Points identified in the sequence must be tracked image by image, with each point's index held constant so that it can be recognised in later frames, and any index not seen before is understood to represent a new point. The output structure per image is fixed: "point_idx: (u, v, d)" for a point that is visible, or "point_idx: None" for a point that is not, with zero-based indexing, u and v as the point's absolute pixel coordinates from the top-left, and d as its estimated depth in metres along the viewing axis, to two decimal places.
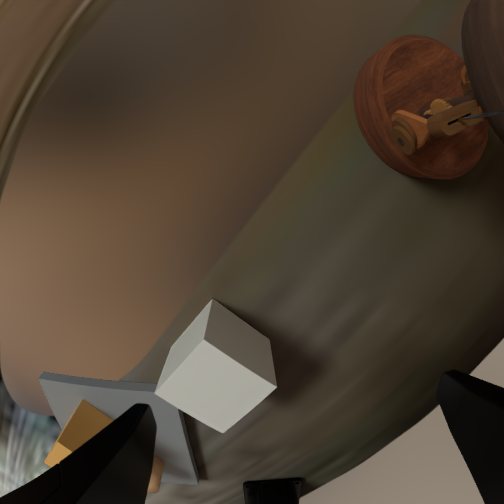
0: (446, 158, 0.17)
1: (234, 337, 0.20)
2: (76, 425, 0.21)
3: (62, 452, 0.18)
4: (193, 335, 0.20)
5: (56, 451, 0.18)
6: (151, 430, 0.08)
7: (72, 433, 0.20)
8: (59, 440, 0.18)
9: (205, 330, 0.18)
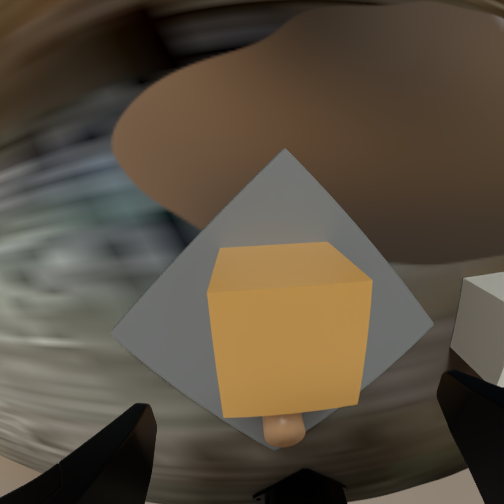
0: None
1: None
2: None
3: (338, 307, 0.10)
4: None
5: (322, 295, 0.10)
6: (151, 430, 0.08)
7: None
8: None
9: None
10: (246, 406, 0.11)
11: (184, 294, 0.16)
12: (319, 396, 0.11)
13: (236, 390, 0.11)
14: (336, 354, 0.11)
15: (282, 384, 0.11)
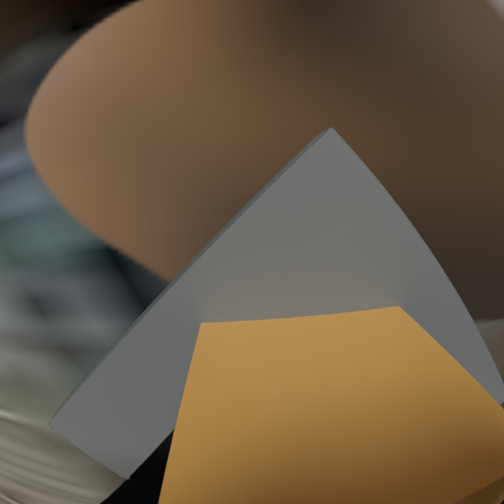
0: None
1: None
2: None
3: None
4: None
5: None
6: None
7: None
8: None
9: None
10: None
11: (145, 392, 0.09)
12: None
13: None
14: None
15: None
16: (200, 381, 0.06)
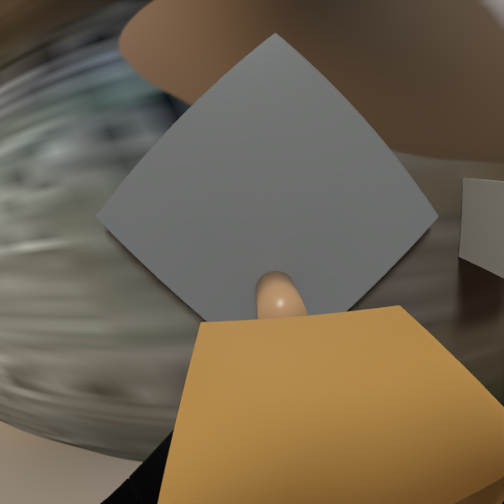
0: None
1: None
2: None
3: None
4: None
5: None
6: None
7: None
8: None
9: None
10: None
11: (176, 163, 0.15)
12: None
13: None
14: None
15: None
16: (200, 380, 0.06)
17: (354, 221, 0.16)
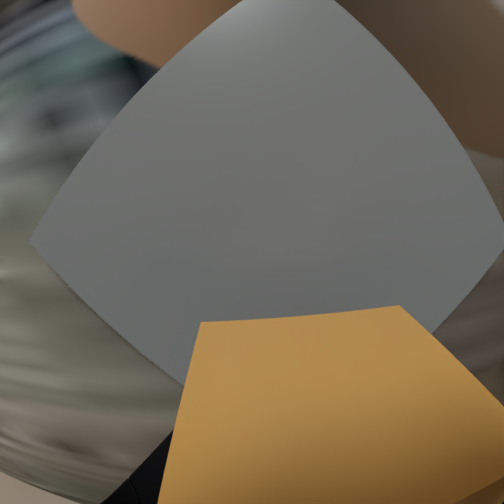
0: None
1: None
2: None
3: None
4: None
5: None
6: None
7: None
8: None
9: None
10: None
11: (136, 158, 0.09)
12: None
13: None
14: None
15: None
16: (200, 380, 0.06)
17: (412, 249, 0.10)
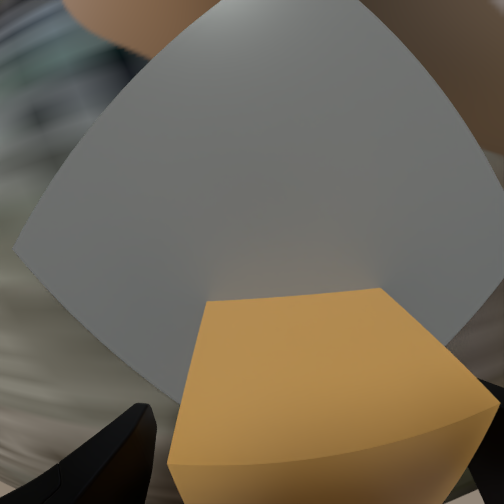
0: None
1: None
2: None
3: (435, 456, 0.04)
4: None
5: (414, 450, 0.04)
6: (151, 430, 0.08)
7: None
8: (490, 400, 0.04)
9: None
10: None
11: (124, 159, 0.08)
12: None
13: None
14: None
15: None
16: (207, 343, 0.07)
17: (427, 258, 0.09)
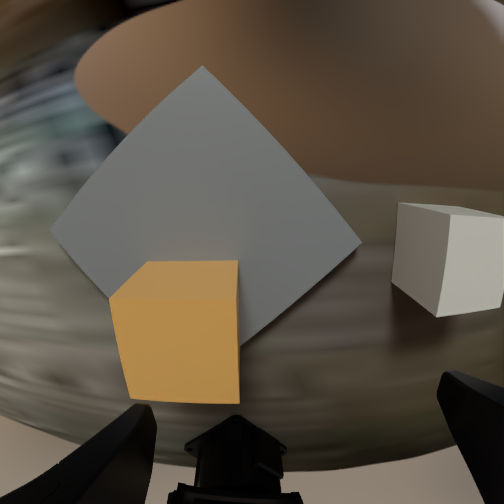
0: None
1: None
2: (237, 291, 0.15)
3: (207, 318, 0.13)
4: (472, 211, 0.16)
5: (193, 308, 0.13)
6: (151, 430, 0.08)
7: None
8: (235, 299, 0.13)
9: (502, 216, 0.14)
10: (145, 390, 0.14)
11: (111, 189, 0.17)
12: (203, 391, 0.14)
13: (136, 376, 0.13)
14: (211, 357, 0.13)
15: (170, 376, 0.13)
16: (138, 274, 0.16)
17: (268, 245, 0.18)
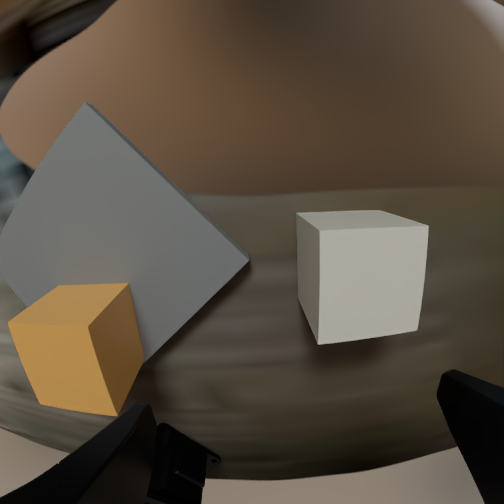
0: None
1: None
2: (112, 315, 0.15)
3: (72, 341, 0.13)
4: (378, 218, 0.16)
5: (60, 333, 0.13)
6: (151, 430, 0.08)
7: (105, 324, 0.14)
8: (90, 326, 0.13)
9: (416, 222, 0.14)
10: (48, 398, 0.14)
11: (25, 224, 0.17)
12: (86, 402, 0.14)
13: (38, 386, 0.13)
14: (83, 374, 0.13)
15: (60, 387, 0.13)
16: (42, 299, 0.16)
17: (153, 268, 0.18)
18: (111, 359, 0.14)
